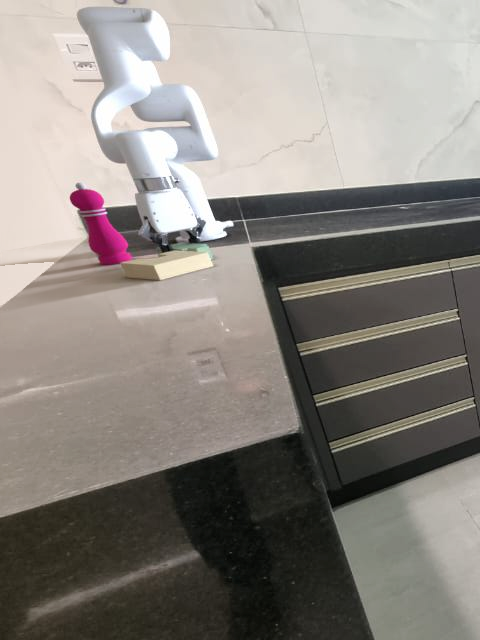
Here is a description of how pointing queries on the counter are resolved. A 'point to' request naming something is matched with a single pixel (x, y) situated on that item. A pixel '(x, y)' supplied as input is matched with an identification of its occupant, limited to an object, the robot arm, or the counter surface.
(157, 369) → the counter surface
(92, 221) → the pepper mill
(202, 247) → the sage pad
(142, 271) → the sand pad
